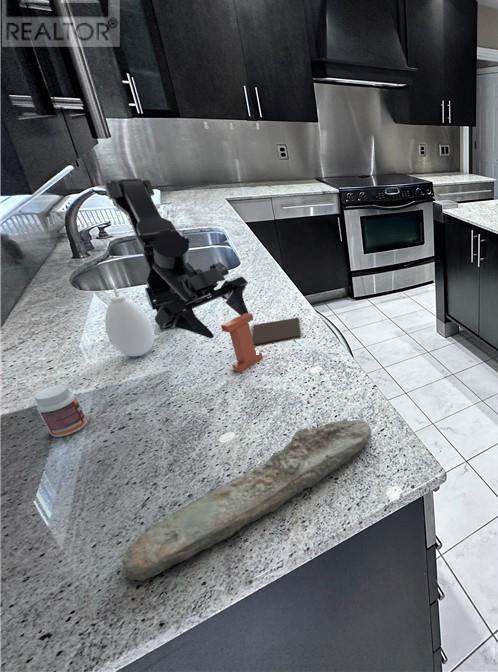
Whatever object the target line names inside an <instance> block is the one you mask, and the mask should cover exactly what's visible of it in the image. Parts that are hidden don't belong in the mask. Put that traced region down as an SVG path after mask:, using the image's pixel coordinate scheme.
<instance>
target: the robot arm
mask: <svg viewBox="0 0 498 672" xmlns="http://www.w3.org/2000/svg"><path fill="white" fill-rule="evenodd" d="M108 181H109V182H108V183H107V182H106V183H104V189H105V192H106V195H107V198H108V199H109V200H110V201H111V200H112V201H113V203H114V206H115V208H117V210H120V211H121V212H122V213H123V214H124V215H126V216H127V217H128V220H129V222H130V225H131V227H132V230H133V233H134V235H135V240H136V244H137V245H138V248H139V251H141V253H142V255H143V259H144V260H145V263H146V266H147V268H148V274H147V277H146V280H145V284H146V287H145V288H144V290H145V298H146V300H147V302H148V305H149V306H150V308H151V309H152V310H153V311H156V314H155V316H154V321H155V324H156V325H158V326H159V329H160V330H166V329H167V330H168V329H174V328H177V329H180V330H185V331H188V332H192V333H194V334H197V335H199V336H202V337H205V338H208V339H210V340H211V339H213V338H214V336H215V335H214V334H213V332H212V331H211V330H210V329H209V328H208V327H207V326H206V325H205V324H204V323H203V322H202V321H201V320H200V319H199V318H198V317H197V316H196V314H195V312H194V309H196V308H198V307H201V306H203V305H205V304H207V303H210V302H212V301H215V300H217V299H219V298H221V299H222V300H226V301H225V304H226V305H227V306H229V307H230V308H231V309H232V310H233V311H234V312H235V313H237V314H238V316H241V315H243V314H245V313H249V310H248V308H247V305H246V302H245V300H244V296H243V295H244V292H245V290H246V287H247V285H248V284H249V282H248V280H247V279H245V277H243V276H242V275H241V276H240V275H237V276H233V277H230V278H228V279H226V277H225V276H227V275H229V274H230V272H229V270H228V268H227V266H225V265H224V264H223V263H222V262H221V261H218V262H216V263H213V264H212V265H209V269H208V270H205V271H204V270H202V269H200V268H198V269H196V268H195V267H194V266H192V265H191V263H189V258H190V239H189V237H188V236H186V235H185V234H184V233H182V231H181V230H179V229H177V228H176V226H174V224H173V222H172V221H171V220H169V219H166V218H164V217H162V216H161V213H160V212H159V210H158V207H157V206H156V204H155V203H154V200H153V198H152V197H154V196H155V191H154V189H153V186H152V183H151V181H150V179H144V178H141V177H135V178H133V177H131V178H119V179H109V180H108ZM195 269H196V270H195ZM223 281H224V282H223ZM218 282H223V283H222V285H221V286H220V287H219V288H218V286H219V283H218ZM216 288H217V289H216Z"/></svg>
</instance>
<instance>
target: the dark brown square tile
mask: <svg viewBox="0 0 498 672" xmlns="http://www.w3.org/2000/svg"><path fill="white" fill-rule="evenodd" d="M301 337H302V336H301V329H300V320H299V317H294V318H293V317H292V318H288V319H282V320H281V319H280V320H275V321H269V322H264V323H258V324H253V329H252V339H253V343H254V347H255V346H259V345H266V344H270V343H275V342H280V341H286V340H290V339H291V340H292V339H297V338H301Z"/></svg>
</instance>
